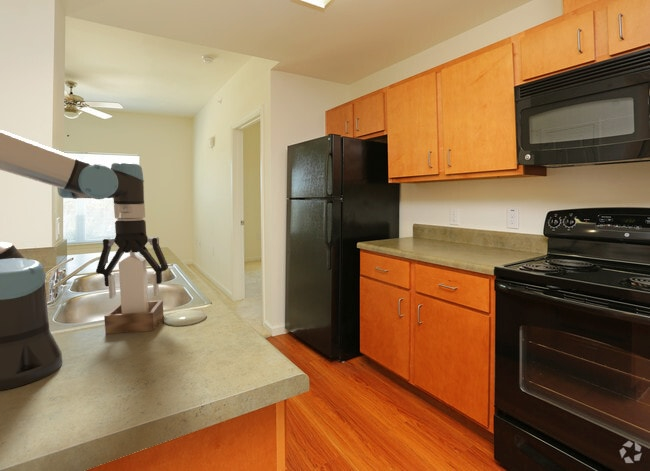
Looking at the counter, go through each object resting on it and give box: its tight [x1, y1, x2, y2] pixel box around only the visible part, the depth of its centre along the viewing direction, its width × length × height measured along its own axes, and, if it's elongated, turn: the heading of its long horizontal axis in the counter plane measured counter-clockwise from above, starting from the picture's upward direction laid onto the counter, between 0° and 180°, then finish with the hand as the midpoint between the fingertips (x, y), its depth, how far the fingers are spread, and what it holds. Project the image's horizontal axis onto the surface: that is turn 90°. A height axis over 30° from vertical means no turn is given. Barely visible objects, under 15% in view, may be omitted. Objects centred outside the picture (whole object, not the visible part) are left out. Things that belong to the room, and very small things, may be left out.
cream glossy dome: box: [163, 309, 207, 327], centre depth 106 cm, size 12×12×1 cm
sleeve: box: [104, 299, 164, 335], centre depth 100 cm, size 12×12×5 cm
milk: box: [118, 250, 149, 314], centre depth 100 cm, size 6×6×22 cm
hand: (134, 295), depth 100 cm, fingers open, 11 cm apart
